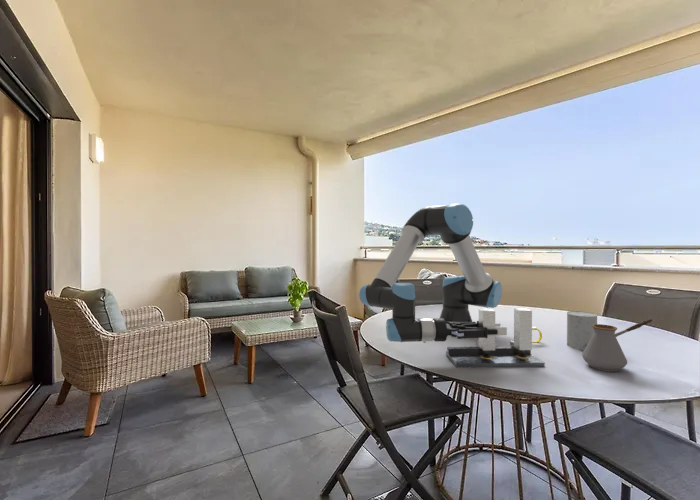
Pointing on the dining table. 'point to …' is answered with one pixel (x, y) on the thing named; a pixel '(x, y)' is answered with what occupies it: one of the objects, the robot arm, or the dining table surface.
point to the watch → (540, 335)
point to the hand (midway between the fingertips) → (502, 329)
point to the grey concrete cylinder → (580, 328)
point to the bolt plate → (492, 357)
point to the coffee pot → (607, 348)
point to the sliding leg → (485, 321)
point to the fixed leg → (522, 330)
